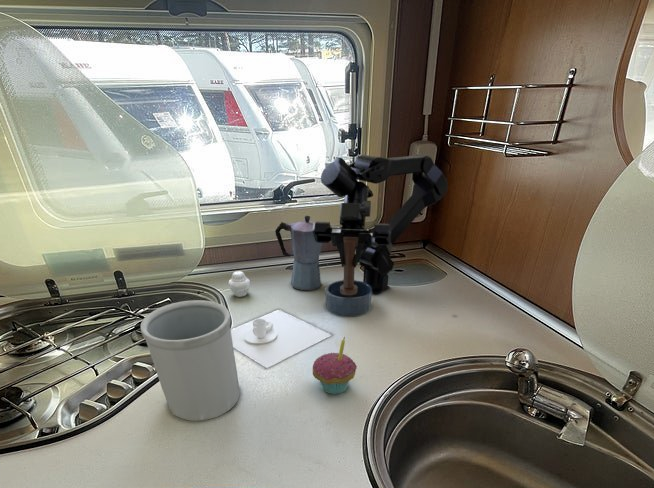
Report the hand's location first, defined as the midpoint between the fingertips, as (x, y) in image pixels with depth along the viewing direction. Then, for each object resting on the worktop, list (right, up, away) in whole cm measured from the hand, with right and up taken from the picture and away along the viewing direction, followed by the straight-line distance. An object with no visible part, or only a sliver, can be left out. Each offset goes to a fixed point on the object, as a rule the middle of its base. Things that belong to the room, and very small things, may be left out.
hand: (348, 266), depth 101 cm
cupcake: (-4, -29, -17) cm, 34 cm away
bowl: (+1, -7, +13) cm, 15 cm away
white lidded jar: (-30, -3, +20) cm, 36 cm away
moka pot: (-11, +1, +25) cm, 28 cm away
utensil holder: (-29, -31, -19) cm, 47 cm away
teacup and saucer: (-18, -17, +1) cm, 25 cm away
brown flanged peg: (0, -5, +5) cm, 7 cm away
